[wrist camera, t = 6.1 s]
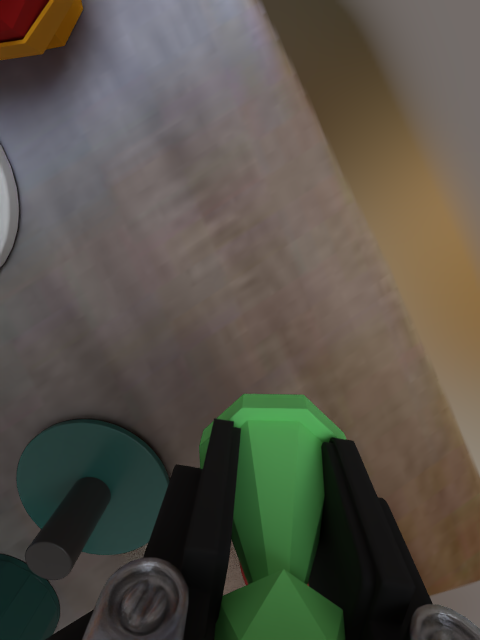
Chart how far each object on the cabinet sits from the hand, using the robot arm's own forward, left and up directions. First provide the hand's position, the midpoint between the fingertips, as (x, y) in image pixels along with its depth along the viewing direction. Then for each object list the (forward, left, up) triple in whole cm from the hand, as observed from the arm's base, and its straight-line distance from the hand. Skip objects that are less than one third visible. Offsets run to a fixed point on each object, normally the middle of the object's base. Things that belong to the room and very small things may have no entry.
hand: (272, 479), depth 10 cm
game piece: (0, 0, -1) cm, 1 cm away
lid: (+14, -11, -13) cm, 22 cm away
